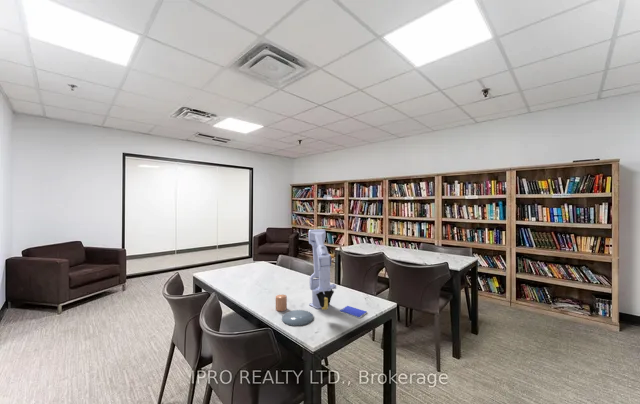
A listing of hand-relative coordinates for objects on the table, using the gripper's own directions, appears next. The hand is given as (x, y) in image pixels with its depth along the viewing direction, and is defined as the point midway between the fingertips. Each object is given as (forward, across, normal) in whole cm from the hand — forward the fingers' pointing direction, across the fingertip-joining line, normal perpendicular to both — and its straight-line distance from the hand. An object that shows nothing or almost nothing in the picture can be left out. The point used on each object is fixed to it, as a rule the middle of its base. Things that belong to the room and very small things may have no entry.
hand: (324, 305), depth 131 cm
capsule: (+2, 0, 0) cm, 2 cm away
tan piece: (+7, -10, +26) cm, 29 cm away
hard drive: (+8, +18, -4) cm, 20 cm away
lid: (+7, -10, +10) cm, 16 cm away
